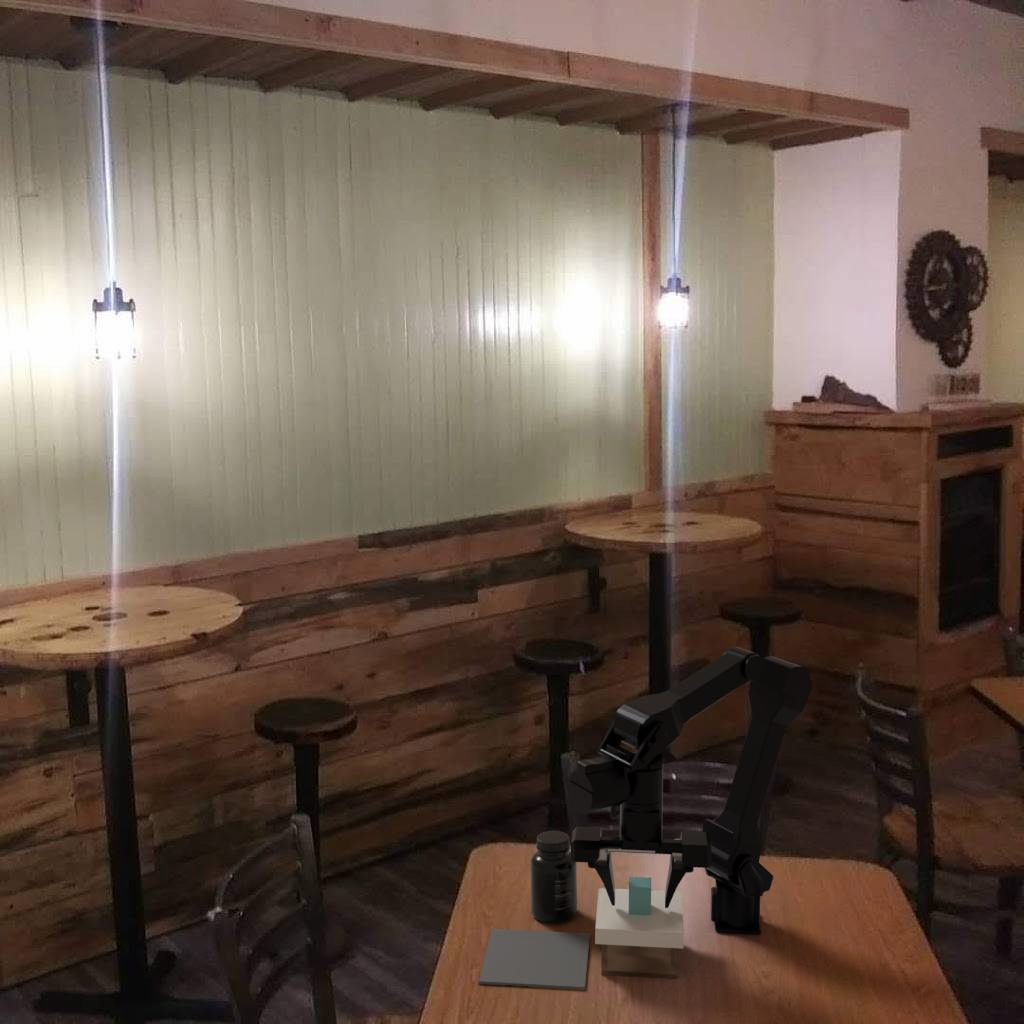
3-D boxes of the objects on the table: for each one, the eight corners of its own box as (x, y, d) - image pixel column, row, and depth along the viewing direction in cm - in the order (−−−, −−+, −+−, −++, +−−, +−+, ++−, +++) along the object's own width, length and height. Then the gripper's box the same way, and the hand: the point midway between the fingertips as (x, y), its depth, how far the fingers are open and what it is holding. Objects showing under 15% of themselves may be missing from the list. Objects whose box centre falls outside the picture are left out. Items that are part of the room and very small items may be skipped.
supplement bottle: (578, 903, 184) (578, 828, 182) (575, 926, 177) (576, 848, 176) (532, 901, 185) (532, 826, 183) (528, 924, 178) (528, 846, 176)
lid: (681, 906, 173) (682, 865, 172) (683, 948, 162) (684, 904, 161) (598, 902, 175) (599, 861, 174) (595, 943, 163) (595, 900, 162)
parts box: (675, 940, 173) (675, 900, 172) (676, 978, 164) (677, 936, 163) (603, 936, 174) (604, 897, 173) (601, 974, 165) (601, 932, 164)
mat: (589, 936, 175) (589, 933, 175) (584, 989, 161) (584, 987, 161) (492, 931, 176) (492, 928, 176) (478, 983, 162) (478, 981, 162)
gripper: (708, 777, 172) (706, 881, 175) (575, 772, 174) (575, 875, 177) (712, 809, 161) (710, 919, 164) (570, 803, 163) (570, 913, 166)
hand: (639, 905), depth 168 cm, fingers open, 7 cm apart
